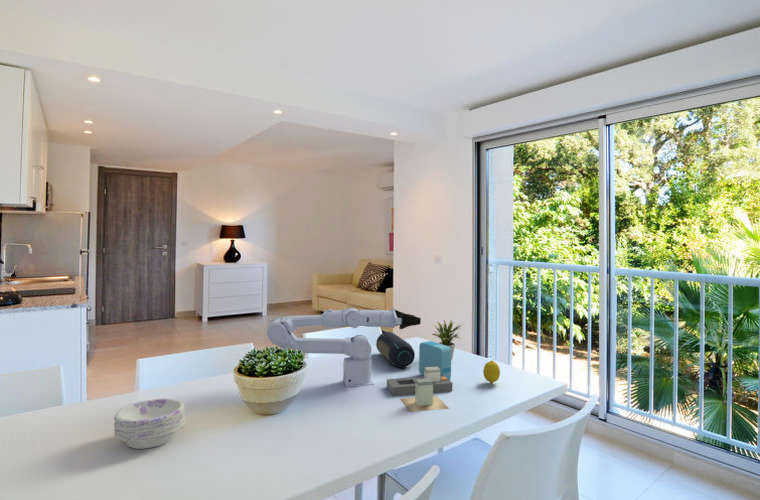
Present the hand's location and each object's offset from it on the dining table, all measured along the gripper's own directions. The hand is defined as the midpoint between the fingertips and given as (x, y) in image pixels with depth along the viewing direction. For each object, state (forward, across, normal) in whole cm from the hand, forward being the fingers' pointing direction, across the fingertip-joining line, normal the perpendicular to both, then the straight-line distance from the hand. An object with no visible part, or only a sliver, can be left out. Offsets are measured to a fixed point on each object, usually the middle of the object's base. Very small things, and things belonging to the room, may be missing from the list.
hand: (417, 319), depth 151 cm
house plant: (+19, +25, +18) cm, 37 cm away
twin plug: (+4, -7, +22) cm, 23 cm away
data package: (+8, +4, +21) cm, 23 cm away
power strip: (0, -8, +22) cm, 23 cm away
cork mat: (-2, -20, +23) cm, 31 cm away
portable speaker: (-2, +26, +20) cm, 33 cm away
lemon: (+26, -4, +21) cm, 33 cm away
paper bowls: (-74, -32, +29) cm, 86 cm away
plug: (-2, -20, +23) cm, 30 cm away
